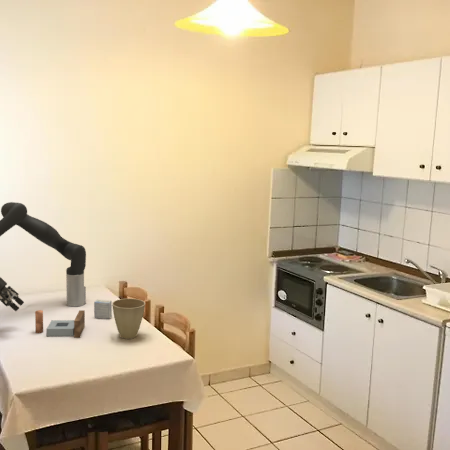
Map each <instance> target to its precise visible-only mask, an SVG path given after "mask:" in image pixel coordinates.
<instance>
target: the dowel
mask: <svg viewBox="0 0 450 450" xmlns="http://www.w3.org/2000/svg"><path fill="white" fill-rule="evenodd" d="M34 314H35V315H34V319H35V320H34V321H35V325H34V326H35V334H42V333H44V311H43V310H41V309H40V310H39V309H37V310H35V312H34Z"/></svg>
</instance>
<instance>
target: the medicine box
mask: <svg viewBox="0 0 450 450" xmlns="http://www.w3.org/2000/svg"><path fill="white" fill-rule="evenodd" d="M112 303H113V302H112V300H110V299H108V300H107V299H96V300H95V301H94V303H93V311H94V319H104V320H110V319H111V318H112V317H113V312H112V311H113V306H112Z"/></svg>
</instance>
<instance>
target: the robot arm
mask: <svg viewBox="0 0 450 450" xmlns="http://www.w3.org/2000/svg"><path fill="white" fill-rule="evenodd" d="M0 213H1V216H2V217H3V218H1V219H0V237H1V236H3V235H4V234H6V232H8V231H9V230H10V229H12V228H13V227H15V226H18V227H19V228H21V229H23V230H24V231H25V232H27V233H28V234H30V235H31V236H32V237H34V238H35V239H37V240H38V241H40V242H41V243H42V244H45V245H47V246H48V247H50V248H52V249H54V250H55V251H57V252H58V253H59V254H60V255H61V256H63V257H64V258H65V259H67V260H69V261H70V266H69V267H67V268H66V269H65V271H66V275H65V276H66V278H65V279H66V283H65V284H66V306H68V307H81V306H84V305H86V304H87V293H86V291H87V289H86V285H85V269H86V265H87V264H86V263H87V262H86V261H87V252H86V248H85V247H84V246H83V245H81V244H77V243H74V242H72V241H69V240H67V239H66V238H64V237H62V236H61V234H60V233H59V231H57V229H56V228H54V227H53V226H51V225H50V224H49V223H47V222H45V221H44V220H41V219H38V218H37V217H34V216H31V215H29V214H28V209H27V206H26V205H25V204H23V203H21V202H13V201H10V202H6V203H4V204H2V206H1V207H0ZM7 285H8V282H6V281H5V279H3V278H2V277H1V276H0V302H1V303H2V304H3V305H4V306H5V307H10V308H11V309H13V310H14V311H15V312H18V310H19V309H20V307H19V306H23V305H24V304H25V302H24V300H23V299H21V298H20V296H19V293H18V292H17V291H16V290H15V289H14V288H13V287H11V286H10V285H8V286H7ZM6 286H7V287H6ZM13 300H14V301H13ZM15 302H16V303H17V304H18V305H19V306H18V305H17V304H16V303H15ZM13 310H12V311H13Z"/></svg>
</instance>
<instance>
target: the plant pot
mask: <svg viewBox="0 0 450 450" xmlns="http://www.w3.org/2000/svg"><path fill="white" fill-rule="evenodd" d="M145 306H146V302H145V301H144V300H142V299H138V298H129V297H128V298H121V299H120V298H119V299H116V300H114V301H113V302H112V311H113V312H112V314H113V316H114V317H113V318H114V322H115V324H116V325H115V326H116V329H117V332H118V334H119V337H120V338H122V339H125V340H129V339H134V338H136V337H137V335H138V333H139V330H140V328H141V327H140V326H141V323H142V320H143V317H144V313H145Z"/></svg>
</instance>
